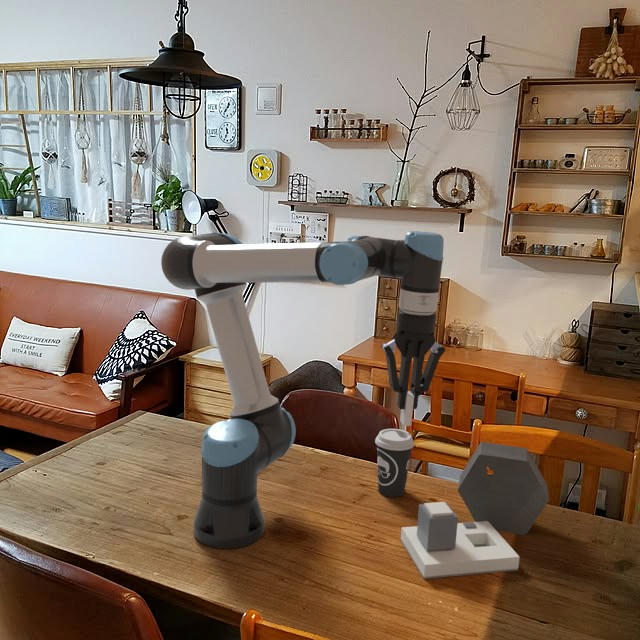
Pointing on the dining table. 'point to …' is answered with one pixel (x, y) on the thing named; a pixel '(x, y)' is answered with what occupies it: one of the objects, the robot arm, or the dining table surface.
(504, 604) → the dining table surface
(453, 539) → the plug
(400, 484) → the coffee cup
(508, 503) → the grey hexagonal prism
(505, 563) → the socket plate
